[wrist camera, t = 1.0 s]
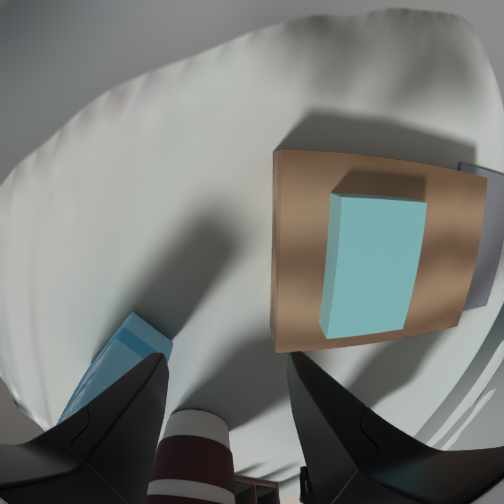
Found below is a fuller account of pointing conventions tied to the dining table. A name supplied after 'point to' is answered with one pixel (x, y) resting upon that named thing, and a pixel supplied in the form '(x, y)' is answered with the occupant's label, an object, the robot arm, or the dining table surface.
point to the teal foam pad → (370, 263)
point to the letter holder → (256, 492)
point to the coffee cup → (193, 462)
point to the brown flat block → (316, 235)
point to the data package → (117, 360)
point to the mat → (487, 238)
